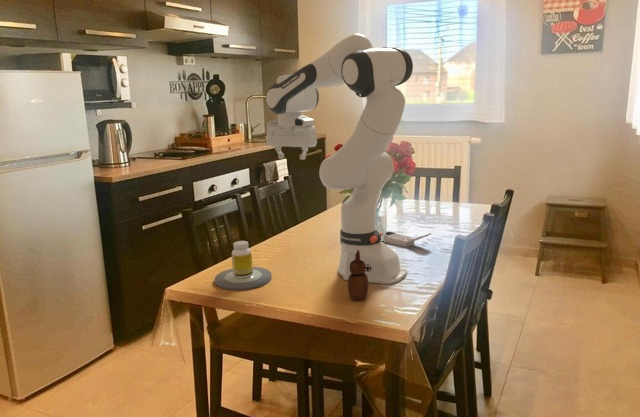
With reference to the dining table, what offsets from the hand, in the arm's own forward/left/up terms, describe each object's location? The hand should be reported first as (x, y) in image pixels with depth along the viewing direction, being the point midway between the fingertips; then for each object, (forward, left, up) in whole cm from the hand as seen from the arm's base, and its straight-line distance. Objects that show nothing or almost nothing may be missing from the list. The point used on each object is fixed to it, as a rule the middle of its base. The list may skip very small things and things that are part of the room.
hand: (291, 158), depth 194 cm
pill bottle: (-3, +35, -33) cm, 48 cm away
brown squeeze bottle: (-43, +32, -34) cm, 64 cm away
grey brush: (-33, -22, -35) cm, 53 cm away
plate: (-3, +35, -34) cm, 49 cm away
